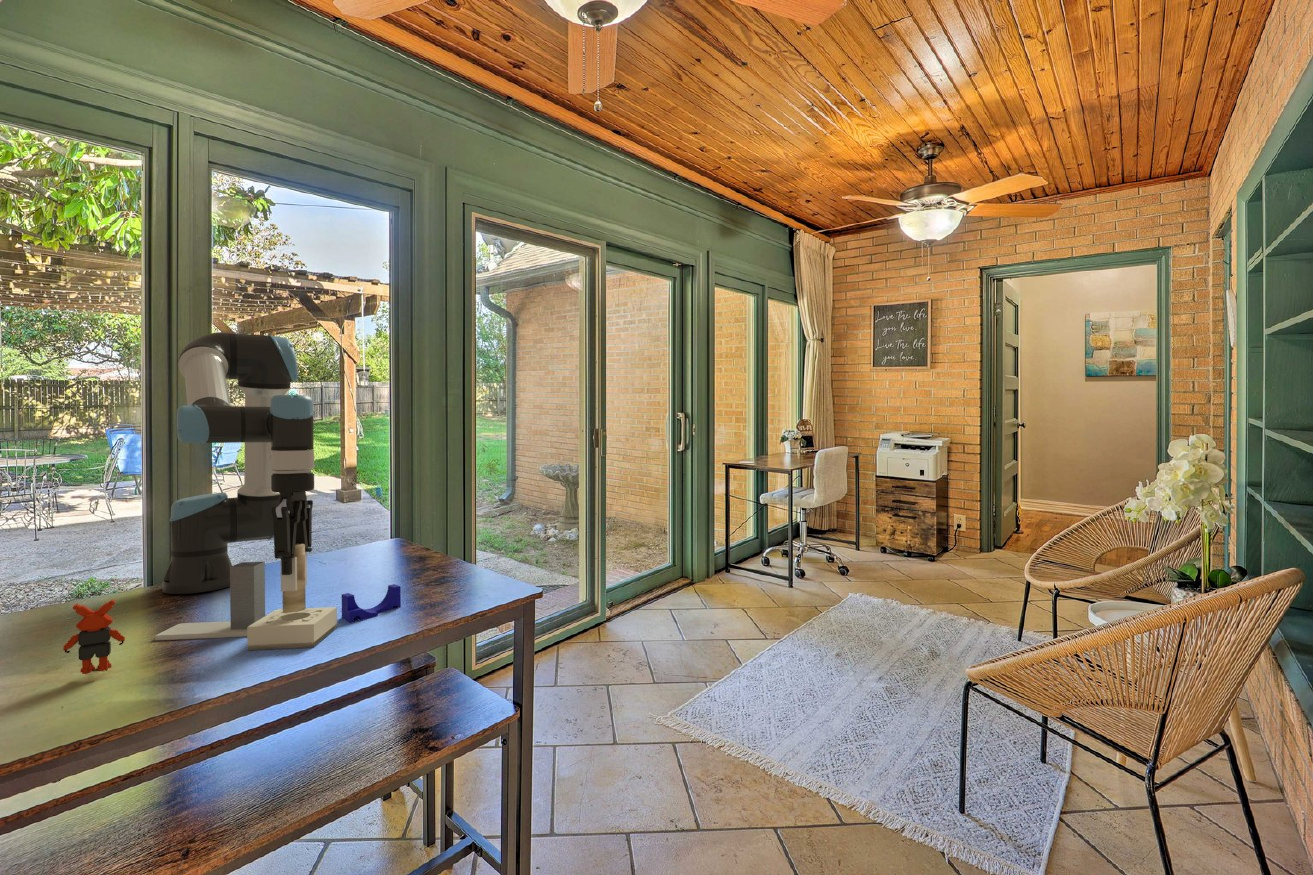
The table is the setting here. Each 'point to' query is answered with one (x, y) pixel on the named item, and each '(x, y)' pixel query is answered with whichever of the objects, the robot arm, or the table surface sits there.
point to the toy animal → (94, 637)
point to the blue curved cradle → (353, 610)
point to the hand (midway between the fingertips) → (294, 587)
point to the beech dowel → (296, 599)
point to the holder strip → (200, 631)
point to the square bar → (247, 594)
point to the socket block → (292, 629)
